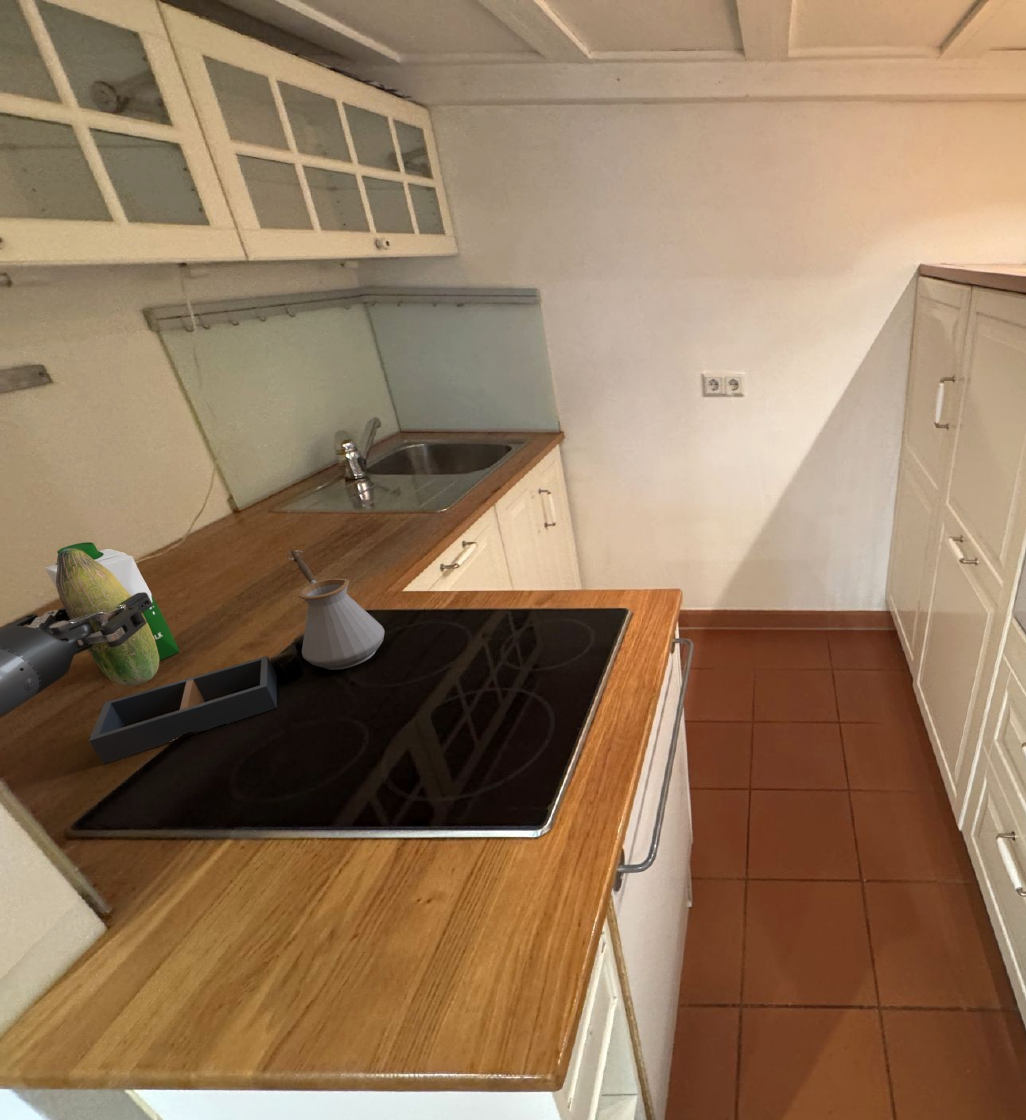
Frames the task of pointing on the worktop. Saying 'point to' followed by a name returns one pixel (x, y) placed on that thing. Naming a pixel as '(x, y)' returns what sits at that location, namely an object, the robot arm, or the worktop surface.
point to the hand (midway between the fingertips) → (118, 601)
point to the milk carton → (129, 591)
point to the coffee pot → (335, 624)
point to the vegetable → (100, 590)
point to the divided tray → (183, 708)
